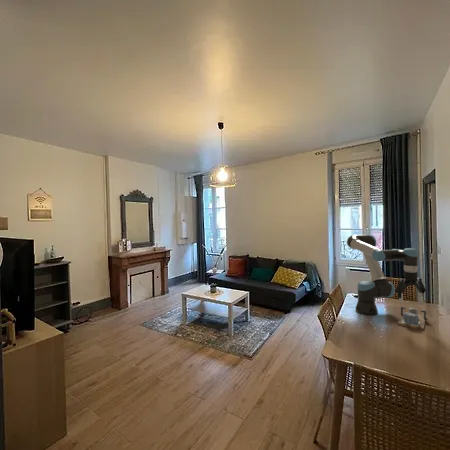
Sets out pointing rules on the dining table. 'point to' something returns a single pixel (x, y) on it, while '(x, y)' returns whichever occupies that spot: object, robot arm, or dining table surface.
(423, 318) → the base
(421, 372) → the dining table surface
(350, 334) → the dining table surface
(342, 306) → the dining table surface
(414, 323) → the cap
